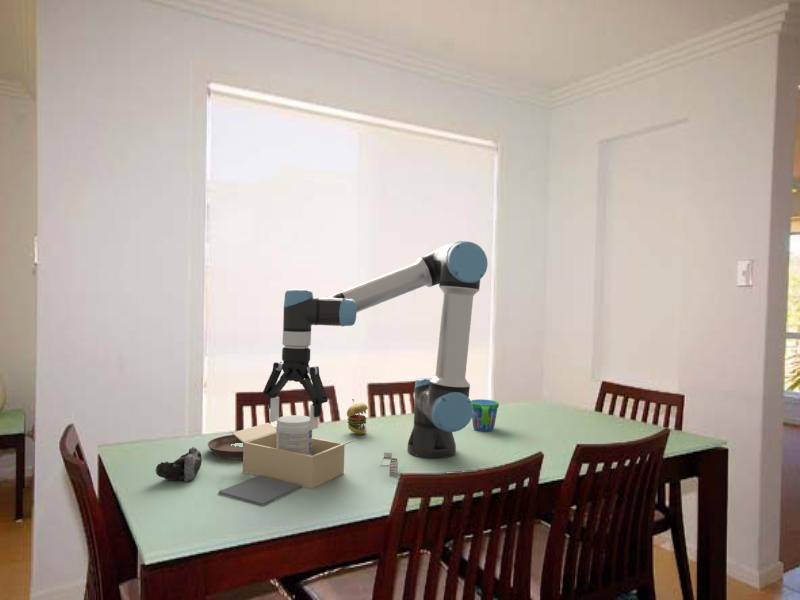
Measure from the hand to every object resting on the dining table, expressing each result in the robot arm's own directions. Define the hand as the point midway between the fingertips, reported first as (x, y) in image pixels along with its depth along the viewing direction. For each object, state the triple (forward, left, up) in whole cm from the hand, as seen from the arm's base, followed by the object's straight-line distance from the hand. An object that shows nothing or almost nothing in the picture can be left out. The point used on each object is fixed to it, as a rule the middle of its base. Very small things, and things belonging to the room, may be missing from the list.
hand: (293, 424), depth 152 cm
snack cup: (-27, -75, -13) cm, 81 cm away
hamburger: (+8, -44, -13) cm, 47 cm away
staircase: (-23, -13, -14) cm, 30 cm away
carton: (0, 0, -13) cm, 13 cm away
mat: (-2, +15, -13) cm, 20 cm away
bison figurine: (+22, +18, -13) cm, 32 cm away
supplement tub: (0, 0, -13) cm, 13 cm away
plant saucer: (+25, -7, -14) cm, 29 cm away
